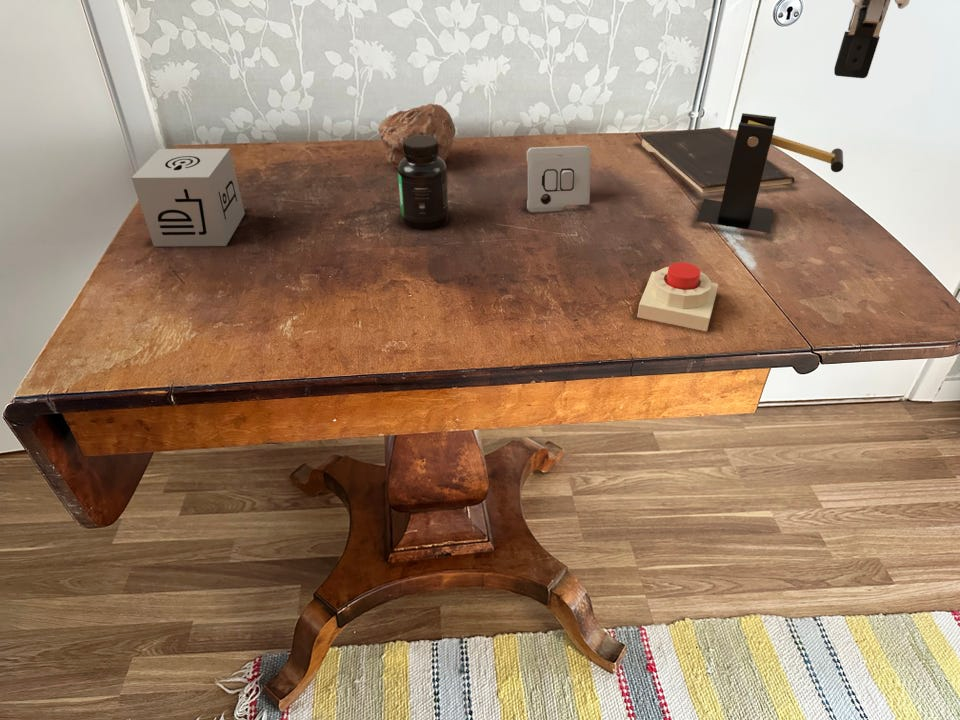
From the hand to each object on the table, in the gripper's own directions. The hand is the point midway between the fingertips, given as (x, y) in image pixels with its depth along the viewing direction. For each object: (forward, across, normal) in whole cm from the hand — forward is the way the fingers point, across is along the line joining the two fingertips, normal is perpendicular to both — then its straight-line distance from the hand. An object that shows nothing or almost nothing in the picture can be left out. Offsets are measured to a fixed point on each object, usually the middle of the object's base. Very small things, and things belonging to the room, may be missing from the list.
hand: (849, 74), depth 74 cm
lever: (+14, +14, +3) cm, 20 cm away
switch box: (+25, -12, +12) cm, 30 cm away
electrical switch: (+25, +10, +34) cm, 44 cm away
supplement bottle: (+25, -2, +50) cm, 56 cm away
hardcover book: (+25, +34, +14) cm, 44 cm away
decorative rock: (+25, +17, +60) cm, 67 cm away
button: (+22, -12, +12) cm, 27 cm away
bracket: (+25, +14, +8) cm, 30 cm away
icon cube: (+25, -16, +79) cm, 84 cm away
